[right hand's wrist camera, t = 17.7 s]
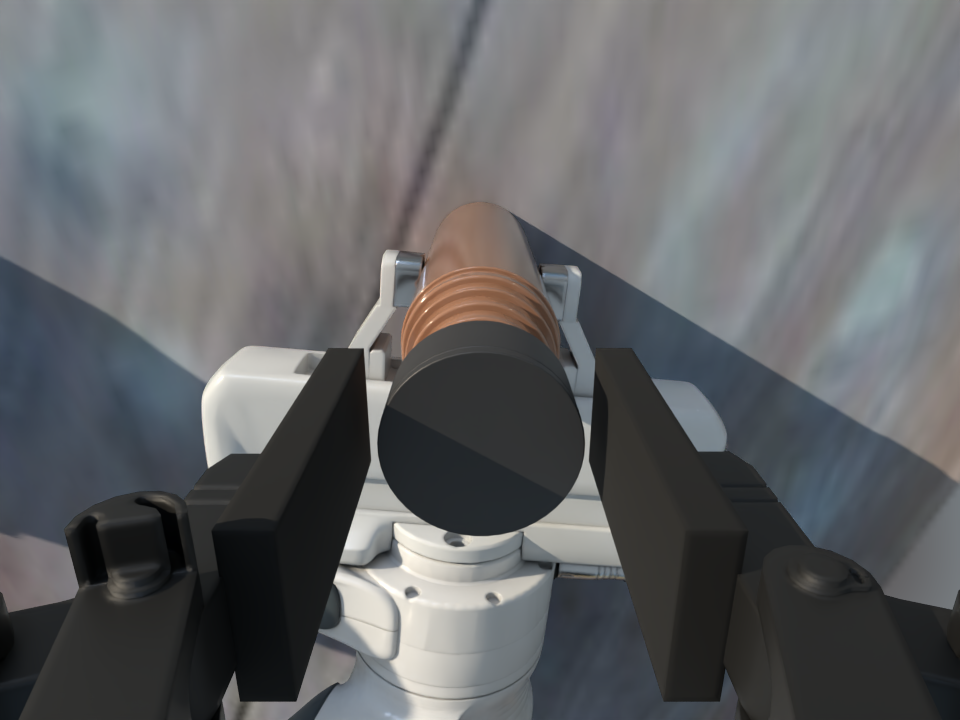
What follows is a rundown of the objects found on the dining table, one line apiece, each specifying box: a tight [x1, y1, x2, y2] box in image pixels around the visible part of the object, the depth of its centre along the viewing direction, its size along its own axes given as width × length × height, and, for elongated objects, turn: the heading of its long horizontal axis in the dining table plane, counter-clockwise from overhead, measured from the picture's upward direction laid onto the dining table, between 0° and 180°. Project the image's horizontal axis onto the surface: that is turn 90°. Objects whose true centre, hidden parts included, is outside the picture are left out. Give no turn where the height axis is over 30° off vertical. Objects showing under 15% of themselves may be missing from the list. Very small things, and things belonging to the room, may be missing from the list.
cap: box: [377, 321, 585, 536], centre depth 14 cm, size 4×4×2 cm
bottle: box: [401, 202, 561, 361], centre depth 22 cm, size 4×4×19 cm
